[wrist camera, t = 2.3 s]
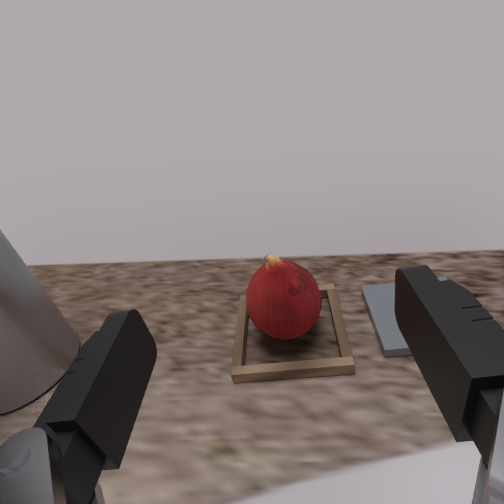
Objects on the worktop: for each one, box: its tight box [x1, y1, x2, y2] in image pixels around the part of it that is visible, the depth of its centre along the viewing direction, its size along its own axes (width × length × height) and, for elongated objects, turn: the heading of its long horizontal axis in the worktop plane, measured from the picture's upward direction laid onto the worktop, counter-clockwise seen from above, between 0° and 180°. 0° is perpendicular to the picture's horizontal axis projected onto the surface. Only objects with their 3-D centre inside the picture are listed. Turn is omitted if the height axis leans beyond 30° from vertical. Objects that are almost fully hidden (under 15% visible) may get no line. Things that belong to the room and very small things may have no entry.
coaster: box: [361, 277, 447, 357], centre depth 25 cm, size 7×7×1 cm
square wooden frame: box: [231, 284, 355, 383], centre depth 26 cm, size 9×9×1 cm
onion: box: [246, 254, 322, 340], centre depth 24 cm, size 6×6×8 cm
